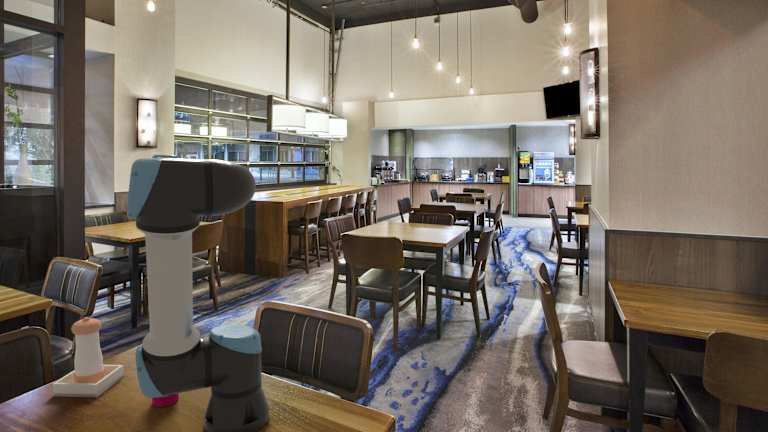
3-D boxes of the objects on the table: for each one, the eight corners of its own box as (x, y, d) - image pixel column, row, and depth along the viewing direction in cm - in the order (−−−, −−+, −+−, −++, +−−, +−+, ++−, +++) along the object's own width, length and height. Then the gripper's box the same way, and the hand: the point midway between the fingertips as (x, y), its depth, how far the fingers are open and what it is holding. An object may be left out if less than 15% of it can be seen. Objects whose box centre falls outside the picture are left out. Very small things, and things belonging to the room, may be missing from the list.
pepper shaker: (106, 375, 127) (103, 311, 125) (103, 386, 121) (100, 319, 119) (76, 380, 124) (72, 315, 122) (72, 392, 117) (68, 323, 115)
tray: (97, 397, 116) (96, 384, 116) (53, 396, 116) (52, 383, 116) (124, 376, 128) (123, 365, 128) (84, 375, 128) (83, 364, 128)
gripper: (157, 210, 117) (160, 287, 120) (198, 203, 142) (200, 267, 144) (130, 210, 117) (133, 286, 120) (175, 203, 142) (177, 266, 144)
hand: (170, 276), depth 132 cm, fingers open, 13 cm apart
